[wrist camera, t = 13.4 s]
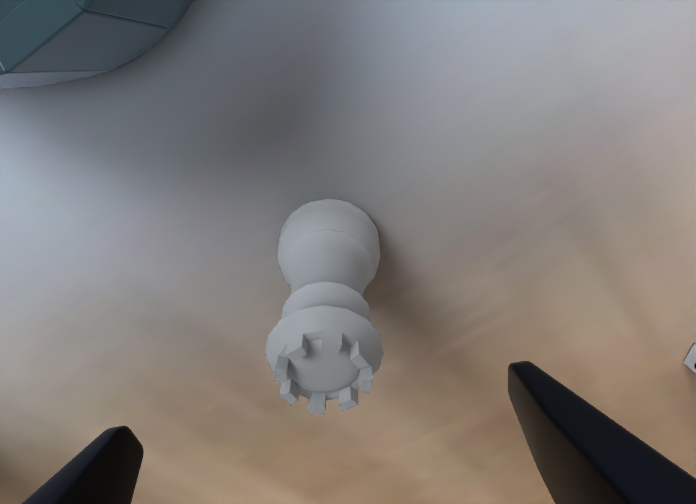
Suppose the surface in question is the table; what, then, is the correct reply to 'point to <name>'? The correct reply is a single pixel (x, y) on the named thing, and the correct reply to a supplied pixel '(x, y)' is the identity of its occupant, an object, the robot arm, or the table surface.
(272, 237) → the table surface
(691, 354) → the walkman
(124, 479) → the robot arm
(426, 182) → the table surface
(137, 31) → the pot
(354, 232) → the rook chess piece
